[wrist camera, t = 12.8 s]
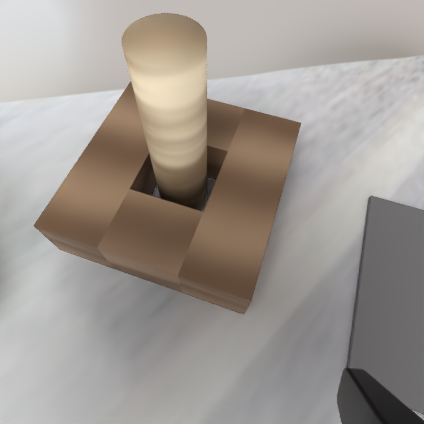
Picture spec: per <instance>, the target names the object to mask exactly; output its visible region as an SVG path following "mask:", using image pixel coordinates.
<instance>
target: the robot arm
mask: <svg viewBox="0 0 424 424" xmlns="http://www.w3.org/2000/svg"><path fill="white" fill-rule="evenodd" d="M337 403H338V409H339V413H340V418H341V422H342V424H424V421H423V420H422V419H421V418H420V417H419V416H418V415H417V414H415V413H414V412H413V411H412V410H411V409H410V408H408V407H407V406H406V405H405V404H404V403H403V402H401V401H400V400H399V399H398V398H397V397H396V396H394V395H393V394H392V393H391V392H390V391H389V390H388V389H386V388H385V387H384V386H383V385H382V384H381V383H379V382H378V381H377V380H376V379H375V378H374V377H372V376H371V375H370V374H369V373H368V372H367V371H365V370H364V369H361V368H353V367H346V368H344V370H343V373H342V377H341V381H340V385H339V389H338V394H337Z"/></svg>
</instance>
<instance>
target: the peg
mask: <svg viewBox="0 0 424 424" xmlns="http://www.w3.org/2000/svg"><path fill="white" fill-rule="evenodd" d="M122 46H123V50H124V54H125V58H126V62H127V66H128V70H129V74H130V78H131V82H132V86H133V90H134V94H135V98H136V102H137V106H138V110H139V114H140V118H141V122H142V126H143V130H144V134H145V138H146V142H147V146H148V150H149V154H150V158H151V162H152V166H153V170H154V174H155V178H156V182H157V186H158V190H159V194H160V198H161V199H163V200H166V201H169V202H173V203H176V204H179V205H182V206H186V207H189V208H192V209H195V210H198V211H202V210H203V209H204V208H205V206H206V202H207V36H206V32H205V30H204V28H203V27H202V26H201V25H200V24H199V23H198V22H196V21H195V20H193V19H191V18H189V17H186V16H183V15H178V14H170V13H161V14H154V15H149V16H146V17H143V18H141V19H139V20H137V21H135V22H134V23H132V24H131V25H130V26H129V27H128V28H127V29H126V30H125V32H124V34H123V36H122Z"/></svg>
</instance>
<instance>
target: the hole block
mask: <svg viewBox="0 0 424 424" xmlns="http://www.w3.org/2000/svg"><path fill="white" fill-rule="evenodd" d="M300 126H301V123H299V122H295V121H291V120H287V119H284V118H280V117H276V116H272V115H268V114H264V113H260V112H256V111H253V110H249V109H245V108H241V107H237V106H233V105H229V104H225V103H221V102H218V101H214V100H210V99H207V177H209V178H213V179H216V182H215V185H214V187H213V189H212V192H211V194H210V197H209V199H208V202H207V204H206V207H205V209H204V212H202V211H198V210H195V209H192V208H189V207H186V206H182V205H179V204H176V203H173V202H169V201H166V200H163V199H160V198H157V197H153V196H151V195H152V193H153V191H154V189H155V187H156V185H157V182H156V178H155V174H154V170H153V166H152V162H151V158H150V154H149V150H148V146H147V142H146V138H145V134H144V130H143V126H142V122H141V118H140V114H139V110H138V106H137V102H136V98H135V94H134V90H133V86H132V82H130V83H129V85H128V86H127V88H126V89H125V91H124V92H123V94H122V95H121V97H120V98H119V100H118V101H117V103H116V104H115V106H114V107H113V109H112V110H111V112H110V113H109V115H108V116H107V117H106V119H105V120H104V122H103V123H102V125H101V126H100V128H99V129H98V131H97V132H96V134H95V135H94V137H93V138H92V140H91V141H90V143H89V144H88V146H87V147H86V149H85V150H84V152H83V153H82V155H81V156H80V158H79V159H78V161H77V162H76V163H75V165H74V166H73V168H72V169H71V171H70V172H69V174H68V175H67V177H66V178H65V180H64V181H63V183H62V184H61V186H60V187H59V189H58V190H57V192H56V193H55V195H54V196H53V198H52V199H51V201H50V202H49V204H48V205H47V207H46V208H45V209H44V211H43V212H42V214H41V215H40V217H39V218H38V220H37V221H36V223H35V224H34V227H35V228H36V229H38V230H39V231H40V232H41V233H42V234H43V235H44V236H45V237H46V238H48V239H49V240H50V241H51V242H52V243H53V244H54V245H55V246H56V247H58V248H59V249H60V250H63V251H65V252H68V253H71V254H74V255H77V256H80V257H83V258H85V259H88V260H91V261H94V262H97V263H100V264H102V265H105V266H108V267H111V268H114V269H117V270H119V271H122V272H125V273H128V274H131V275H134V276H137V277H139V278H142V279H145V280H148V281H151V282H154V283H156V284H159V285H162V286H165V287H168V288H171V289H173V290H176V291H179V292H182V293H185V294H188V295H190V296H193V297H196V298H199V299H202V300H205V301H208V302H210V303H213V304H216V305H219V306H222V307H225V308H227V309H230V310H233V311H236V312H239V313H242V314H244V313H245V311H246V309H247V307H248V306H249V304H250V302H251V299H252V296H253V292H254V289H255V285H256V282H257V278H258V275H259V271H260V268H261V264H262V260H263V257H264V253H265V250H266V246H267V243H268V239H269V236H270V232H271V229H272V225H273V221H274V218H275V214H276V211H277V207H278V204H279V200H280V197H281V193H282V189H283V186H284V182H285V179H286V175H287V172H288V168H289V165H290V161H291V158H292V154H293V150H294V147H295V143H296V140H297V136H298V133H299V129H300Z"/></svg>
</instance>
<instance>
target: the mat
mask: <svg viewBox="0 0 424 424" xmlns="http://www.w3.org/2000/svg"><path fill="white" fill-rule="evenodd" d="M347 367H353V368H361V369H364V370H365V371H367V372H368V373H369V374H370V375H371V376H372V377H374V378H375V379H376V380H377V381H378V382H379V383H381V384H382V385H383V386H384V387H385V388H386V389H388V390H389V391H390V392H391V393H392V394H393V395H394V396H396V397H397V398H398V399H399V400H400V401H401V402H403V403H404V404H405V405H406V406H407V407H408V408H410V409H411V410H414V411H417V412H419V413H422V414H424V210H420V209H417V208H413V207H410V206H406V205H403V204H399V203H396V202H392V201H388V200H385V199H381V198H378V197H374V196H370V198H369V202H368V210H367V217H366V225H365V233H364V241H363V248H362V256H361V264H360V272H359V279H358V287H357V295H356V303H355V310H354V318H353V326H352V334H351V341H350V349H349V357H348V365H347Z"/></svg>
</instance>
